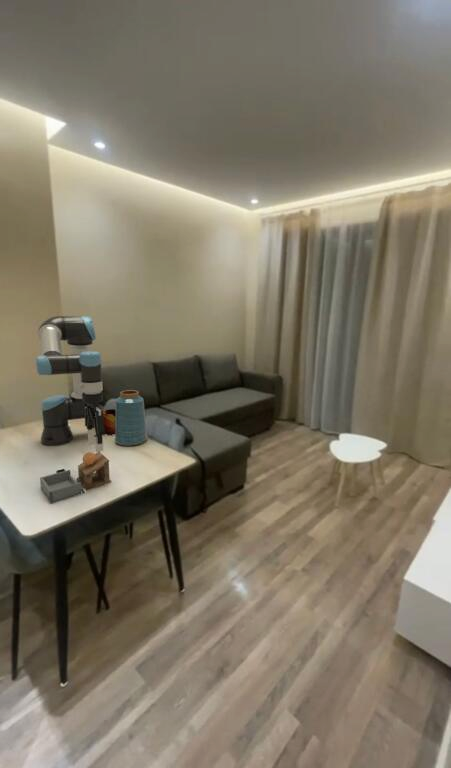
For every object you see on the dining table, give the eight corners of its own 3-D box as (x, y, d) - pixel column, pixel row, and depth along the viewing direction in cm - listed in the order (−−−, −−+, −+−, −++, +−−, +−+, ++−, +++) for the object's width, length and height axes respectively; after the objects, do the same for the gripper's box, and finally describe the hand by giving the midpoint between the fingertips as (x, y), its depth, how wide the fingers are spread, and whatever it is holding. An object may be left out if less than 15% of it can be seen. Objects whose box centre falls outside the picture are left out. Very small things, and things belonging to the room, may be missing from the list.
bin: (41, 488, 133) (40, 477, 132) (70, 479, 140) (69, 469, 139) (50, 503, 123) (49, 492, 122) (81, 493, 130) (80, 482, 129)
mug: (130, 432, 195) (129, 412, 192) (104, 436, 188) (103, 415, 185) (125, 427, 203) (125, 407, 200) (101, 430, 196) (100, 410, 194)
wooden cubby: (76, 479, 140) (75, 456, 138) (101, 472, 147) (99, 450, 144) (86, 490, 132) (84, 466, 130) (111, 482, 138) (110, 459, 136)
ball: (89, 463, 139) (78, 460, 136) (95, 452, 140) (84, 449, 137) (94, 468, 136) (83, 465, 132) (100, 456, 137) (89, 453, 133)
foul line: (71, 479, 140) (71, 479, 140) (73, 478, 141) (73, 478, 141) (83, 493, 130) (83, 493, 130) (85, 492, 130) (85, 492, 130)
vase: (121, 435, 190) (118, 388, 185) (150, 436, 190) (149, 388, 184) (110, 446, 174) (107, 395, 169) (142, 447, 174) (140, 396, 168)
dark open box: (56, 476, 143) (56, 470, 142) (64, 474, 144) (63, 468, 144) (58, 479, 140) (58, 473, 140) (66, 476, 142) (66, 471, 142)
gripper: (73, 388, 137) (77, 442, 142) (92, 398, 122) (95, 458, 127) (92, 386, 142) (95, 438, 147) (112, 395, 127) (115, 453, 132)
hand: (95, 447), depth 137 cm, fingers open, 7 cm apart
